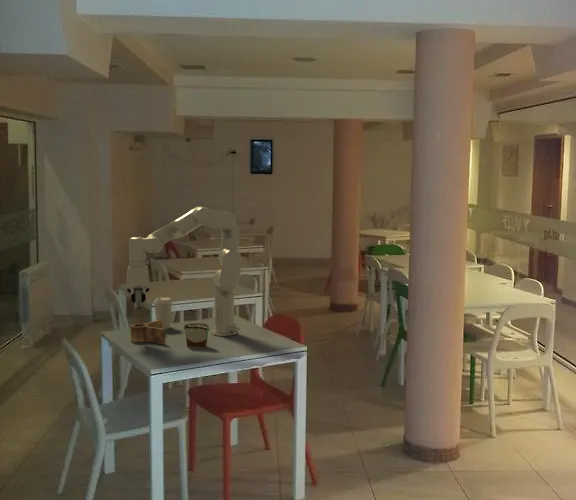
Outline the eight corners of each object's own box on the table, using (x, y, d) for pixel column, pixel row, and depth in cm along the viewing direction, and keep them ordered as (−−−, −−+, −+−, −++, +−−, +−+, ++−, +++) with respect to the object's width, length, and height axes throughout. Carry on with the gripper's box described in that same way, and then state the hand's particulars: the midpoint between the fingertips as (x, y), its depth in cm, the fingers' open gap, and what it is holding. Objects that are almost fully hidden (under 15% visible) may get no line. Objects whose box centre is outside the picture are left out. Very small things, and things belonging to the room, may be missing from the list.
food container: (214, 345, 330) (214, 323, 329) (208, 348, 325) (208, 326, 323) (190, 343, 334) (189, 322, 333) (183, 346, 329) (183, 324, 327)
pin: (146, 308, 340) (145, 285, 338) (138, 310, 335) (138, 286, 334) (138, 307, 342) (137, 284, 341) (130, 309, 338) (130, 285, 337)
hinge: (186, 337, 346) (186, 323, 345) (158, 345, 329) (158, 330, 328) (155, 332, 356) (155, 318, 355) (127, 340, 339) (127, 326, 339)
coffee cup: (157, 325, 372) (156, 296, 370) (175, 326, 371) (174, 297, 369) (151, 329, 363) (150, 300, 361) (169, 330, 361) (169, 300, 360)
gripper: (155, 262, 342) (156, 300, 344) (119, 263, 338) (120, 301, 340) (156, 264, 335) (156, 303, 337) (119, 265, 331) (120, 304, 333)
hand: (138, 301), depth 339 cm, fingers closed on pin, 4 cm apart
